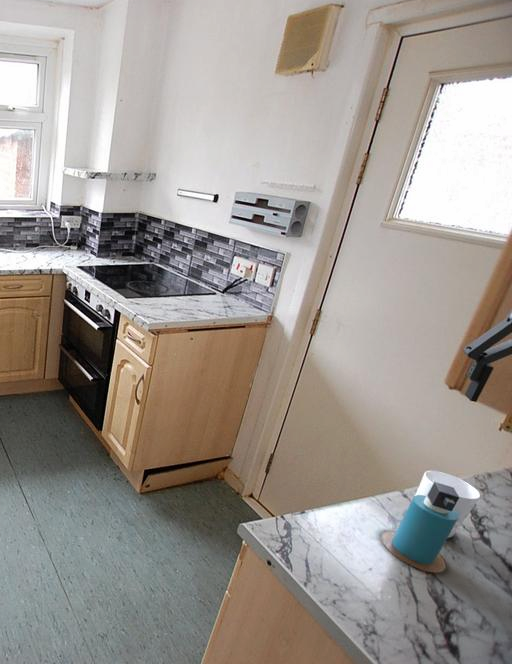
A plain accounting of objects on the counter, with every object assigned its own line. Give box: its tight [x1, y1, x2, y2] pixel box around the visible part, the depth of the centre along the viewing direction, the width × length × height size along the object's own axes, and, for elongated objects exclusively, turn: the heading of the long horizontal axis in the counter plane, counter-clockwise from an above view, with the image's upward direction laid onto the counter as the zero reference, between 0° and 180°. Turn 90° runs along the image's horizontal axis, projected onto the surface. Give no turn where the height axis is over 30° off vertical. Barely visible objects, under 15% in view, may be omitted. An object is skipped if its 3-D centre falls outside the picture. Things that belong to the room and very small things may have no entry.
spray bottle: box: [392, 482, 459, 564], centre depth 80 cm, size 7×6×14 cm
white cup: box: [414, 470, 481, 539], centre depth 88 cm, size 8×8×10 cm
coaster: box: [381, 531, 447, 574], centre depth 83 cm, size 9×9×1 cm
